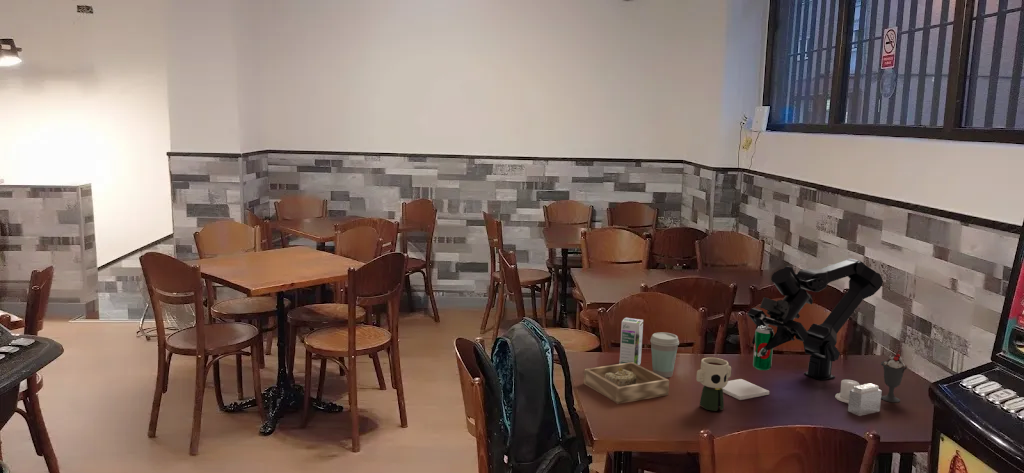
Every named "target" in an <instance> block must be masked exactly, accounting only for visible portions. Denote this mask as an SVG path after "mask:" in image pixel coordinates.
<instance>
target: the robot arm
mask: <svg viewBox="0 0 1024 473" xmlns="http://www.w3.org/2000/svg"><path fill="white" fill-rule="evenodd" d="M844 278H849V281H848V290H847V291H846V293H845V294H844V295H843V296H842V298H841V299H840V300H839V302H838V303H837V304H836V305H835V307H833V309H832V311H831V312H830V313H829V314H828V316H826V318H825V319H824V321H822V323H821V324H817V323H812V324H811V325H810V327H809V328H808V330H806V328H805V327H804V325H803V323H802V322H799V321H796V320H795V319H799V318H800V317H801V315H800V314H799V313H800V312H801V310H802V309H803V308H804V307H805V305H806V304H809V305H813V304H814V303H813V301H814V300H813V295H812V294H810V293H808V292H807V291H810V292H813V293H819V292H822V291H823V290H824V289H826V288H827V287H828V285H829V283H832V282H836V281H838V280H841V279H844ZM771 282H772V283H773V284H774V286H775V287H776V289H777V290H778V291H779V293H780V294H781V295H782V296H784V297H783V298H782V299H778V300H776V299H775V300H774V299H771V298H768V297H765V296H764V297H763V298H762V301H761V303H760V306H759V308H760V309H758V308H755V307H753V308H752V307H751V308H750V309H749V311H748V312H747V313H746V314H747V316H748V317H749V318H750V320H751V321H752V322H753V323H754V325H755V331H756V329H757V327H758V326H767V327H769V325H770V326H773V327H776V332H774V336H773V338H772V339H771V341H770V342H769V343H768V345H767V347H766V349H767V350H770V349H773V350H774V349H775V348H778V347H779V346H781V345H783V344H785V343H788V342H791V341H792V342H793V341H795V340H797V341H799V342H802V344H803V348H804V353H805V354H806V355H809V360H808V366H807V368H808V369H807V371H804V372H803V374H804V375H806V376H808V377H811V378H813V379H817V380H818V381H825V380H830V379H835V378H836V375H834V374H832V367H833V362H836V361H838V360H839V357H840V355H841V352H840V351H839V350H838V348H837V347H836V344H837V339H838V338H837V337H838V333H839V332H840V330H841V329H842V327H843V326H844V325H845V324H846V322H847V321H848V320H849V319H850V318H851V316H852V315H853V313H854V312H855V311H856V309H857V308H858V307H859V305H861V303H862V302H863V301H864V299H867V298H870V297H872V296H874V295H875V294H876V293H877V292H878V291H879V290H880V289H881V288H882V285H883V282H884V280H883V277H882V275H881V273H879V272H877V271H875V270H874V269H872V268H870V266H867V265H866V264H865V263H864V262H863V261H861V260H860V259H854V258H845V260H843V261H840V262H837V263H832V264H829V265H828V266H824V267H821V268H804V269H803V268H802V269H800V270H798V272H795V270H794V269H793V267H792V266H789V265H785V267H783V268H781V269H778V270H776V271H775V272H773V273H772V275H771ZM761 309H763V310H766V313H765V312H764V311H763V310H761ZM767 315H768V316H767ZM753 334H754V335H753V339H752V342H751V344H752V345H753V346H754V344H755V333H753Z"/></svg>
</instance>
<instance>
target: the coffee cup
mask: <svg viewBox="0 0 1024 473" xmlns="http://www.w3.org/2000/svg"><path fill="white" fill-rule="evenodd" d="M679 345H680V341H679V336H678V335H676V334H674V333H670V332H654V333H653V334H652V335H651V337H650V347H651V348H650V349H651V350H650V351H651V364H652V366H651V367H652V372H654V373H656V374H658V375H660V376H662V377H664V378H666V379H668V378H671V377H673V373H674V370H675V369H674V368H675V365H676V359H677V358H676V357H677V354H678V352H677V351H678V348H679V347H678V346H679Z"/></svg>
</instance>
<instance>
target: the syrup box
mask: <svg viewBox="0 0 1024 473" xmlns="http://www.w3.org/2000/svg"><path fill="white" fill-rule="evenodd" d="M620 328H621V329H620V350H619V361H618V362H619V363H618V364H622V363H629V362H634V363H636V364H638V365H640V366H641V362H642V351H643V350H642V348H643V331H644V319H640V318H632V317H624V318H623V319H622V320H621V327H620Z"/></svg>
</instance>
